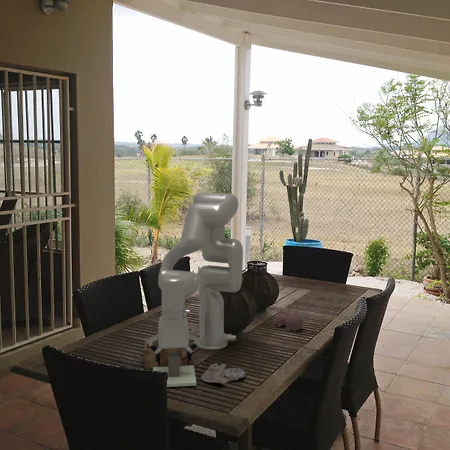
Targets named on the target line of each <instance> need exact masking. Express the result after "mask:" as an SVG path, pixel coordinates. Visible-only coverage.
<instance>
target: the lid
mask: <svg viewBox="0 0 450 450" xmlns="http://www.w3.org/2000/svg"><path fill="white" fill-rule="evenodd" d="M153 371H161V372H167V373H168V380H167V387H166V388H170V387H171V388H173V387H189V386H190V387H192V386H195V387H196V386H197V377H196V371H195V365H193V364H192V365H182V366H180V365H179V352H173V353H168V367H153V369H152V372H153Z"/></svg>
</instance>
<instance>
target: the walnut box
mask: <svg viewBox="0 0 450 450" xmlns="http://www.w3.org/2000/svg"><path fill="white" fill-rule="evenodd" d="M151 337H152V336H145V337H144V348H143V353H144V354H143V358H144V370H153V367H168V353H173V352H179V365H180V366H183V362H182V361H183V359H182V358H183V356H182V355H183V354H182V353H183V350H182V349H183V348H162V350H161V351H160V366H158V362H156V354H155V352H154V351H153V350H152V349H151V348H150V346H149V345H148V343H147V340H148V339H150V338H151ZM152 343H153V345H155V346H156V347H157V346H158V339H157V340H156V341H154V342H152Z"/></svg>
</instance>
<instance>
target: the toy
mask: <svg viewBox="0 0 450 450" xmlns="http://www.w3.org/2000/svg"><path fill="white" fill-rule="evenodd" d="M273 320H274V324H275V326H277V328H280V327H283V326H285V327H286V330H288V331H289V332H291V331H293V332H296V331H298V330H300V329H301V328H302V327H303V325H304V319H303V317H302V315H300V313H298V312H290V313H289V312H287V313H283V312H279V313H277V314H276V315H275V317H274V318H273Z"/></svg>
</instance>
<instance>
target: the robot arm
mask: <svg viewBox="0 0 450 450" xmlns="http://www.w3.org/2000/svg"><path fill="white" fill-rule="evenodd" d="M238 200H239V199H238V197H237V196H236V195H235V194H234V193H228V192H227V193H223V192H222V193H218V192H200V193H196V194H195V195H194V196H193V198H192V204H190V205H189V207H188V209H187V211H186V215H185V219H184V220H185V221H184V224H183V226H182V227H183V228H182V232H181V237H180V239H179V242H177V243H176V244H175V245H174V246H172V248H171V249H169V251H168V252H167V253H166V254H165V256H164V258H162V261H161V263H160V264H161V265H160V269H159V273H158V276H157V277H158V279H157V282H158V287H159V289H160V290H161V315H160V316H159V320H158V325H157V326H158V328H157V329H158V330H157V334H156V335H153V336H150V337H151V338H150V339H148V340H147V343H148V345H149V346H150V348H151V349H152V350H153V351H154V352H155V354H156V362H158V366H160V351H161V350H162V348H182V349H183V348H185V350H186V364H187V365H190V364H191V361H192V353H193V351H194V350H196V348H199V349H202V350H208V351H214V350H216V351H217V350H220V349H224V348H225V347H227V346H228V341H236V335H235V334H234V335H232V334H231V333H225V331H224V326H225V324H224V321H225V320H224V319H225V316H224V308H225V305H224V304H225V302H224V297H223V296H222V294H221V292H226V293H237V292H238V291H239V290H240V289H241V287H242V284H243V283H242V281H243V263H244V260H243V259H244V247H243V244H242V242H241V241H240V240H238V239H235V238H226V237H225V236H226V235H225V234H226V233H225V232H226V230H225V229H226V225H227V224H228V223H229V222H230V221H231V219H233V218H234V216H235V215H236V213H237V211H238V208H239V201H238ZM200 250H201V254H202V256H201V257H202V258H203V260H204V261H206V262H210V263H217V264H218V263H219V264H220V263H222V264H227V265H228V266H223V265H222V266H221V265H212V264H211V265H204V266H201V267H200V268H199V269H198V270H197V272H193V271H185V270H177V269H174V267H175V265H176V263H177V262H178V261H180V260H181V259H183V258H184V257H186V256H188V255H190V254H193V253H196V252H198V251H200ZM196 292H198V298H199V301H198V302H199V307H198V308H199V314H198V315H199V316H198V318H199V323H198V324H199V333H198V334H199V336H197V335H194V334H192V333H190V330H189V329H190V328H189V320H188V316H187V315H188V314H189V315H190V309H187V308H186V307H185V305H186V304H185V303H186V297H185V296H188V295H189V296H190V295H192V294H193V295H194V294H195V293H196ZM157 339H158V346H157V347H156V346H155V345H153V343H152V342H154V341H156V340H157ZM190 339H191V340H193V343H192V344H191V345H190Z"/></svg>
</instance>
